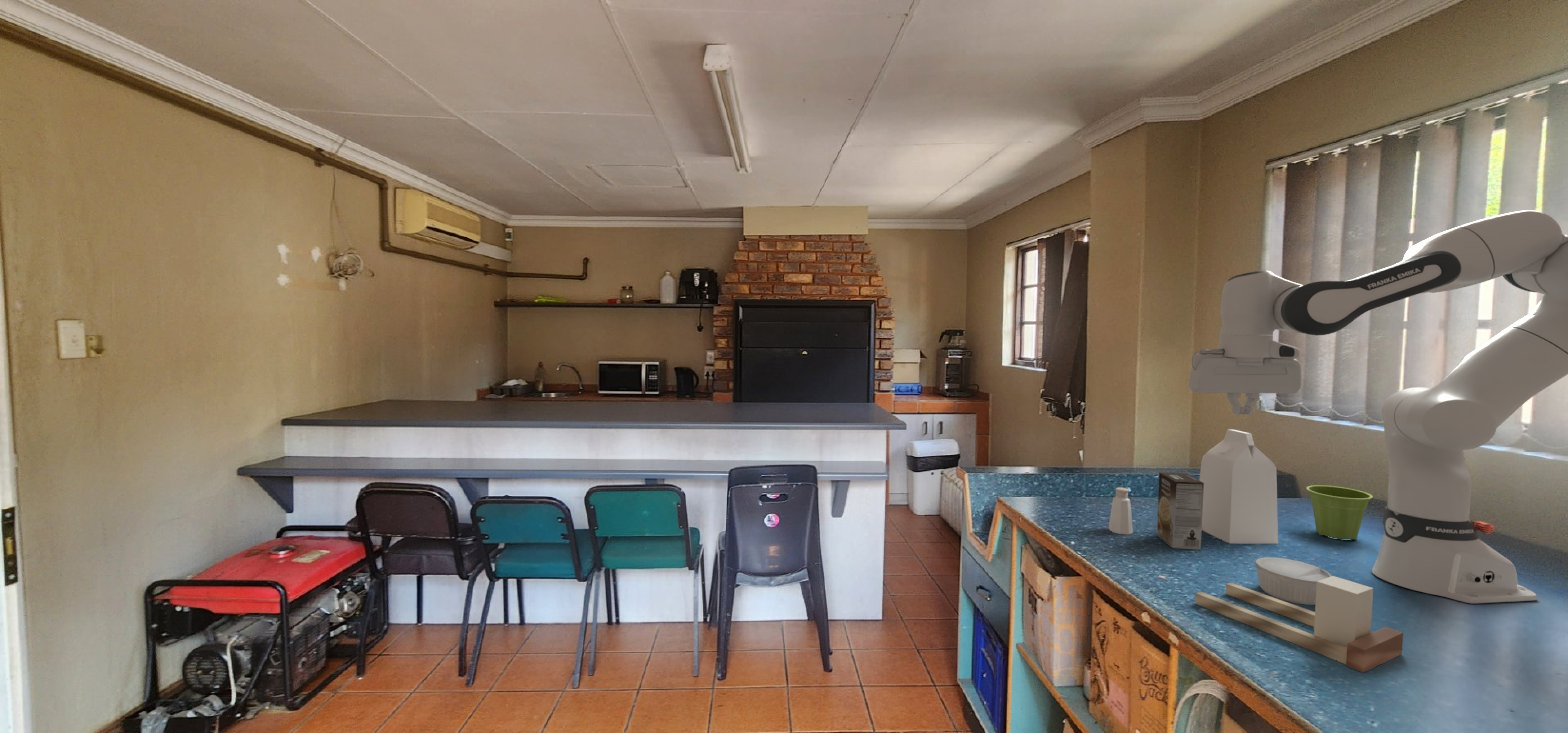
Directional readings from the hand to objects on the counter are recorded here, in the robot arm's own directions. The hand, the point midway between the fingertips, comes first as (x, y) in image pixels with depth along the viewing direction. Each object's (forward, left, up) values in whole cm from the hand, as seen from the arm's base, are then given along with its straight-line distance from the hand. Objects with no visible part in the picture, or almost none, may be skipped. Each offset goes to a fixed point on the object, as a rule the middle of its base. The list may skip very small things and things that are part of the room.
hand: (1242, 414), depth 123 cm
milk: (-13, -21, -33) cm, 42 cm away
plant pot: (-37, -22, -33) cm, 54 cm away
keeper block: (+5, +32, -33) cm, 47 cm away
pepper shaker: (+14, -21, -33) cm, 42 cm away
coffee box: (+4, -14, -33) cm, 36 cm away
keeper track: (+8, +26, -33) cm, 43 cm away
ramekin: (-2, +13, -33) cm, 36 cm away
